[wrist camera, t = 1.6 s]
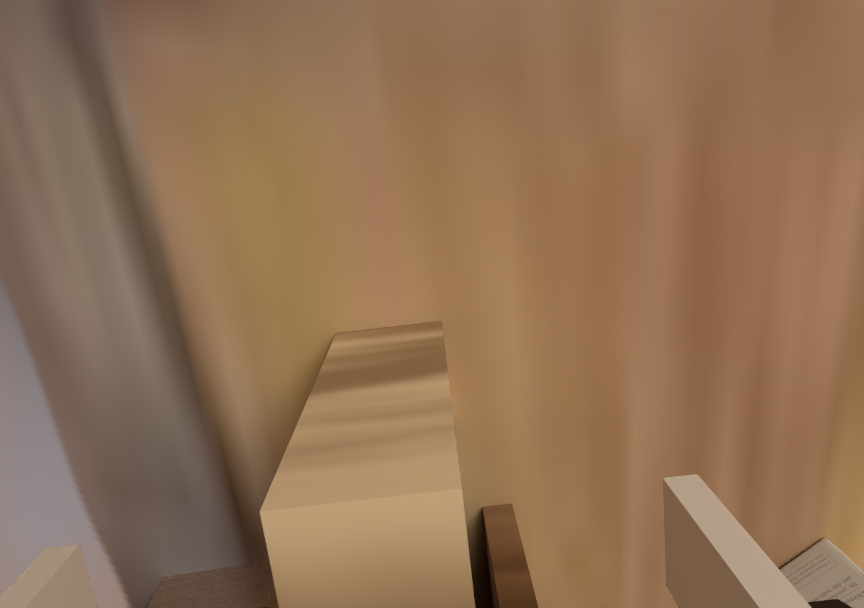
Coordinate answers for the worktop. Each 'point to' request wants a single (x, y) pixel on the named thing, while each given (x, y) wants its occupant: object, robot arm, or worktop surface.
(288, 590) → the tan wood-grain block
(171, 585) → the brown square block
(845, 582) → the grey canister
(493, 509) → the brown wooden stand
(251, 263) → the worktop surface
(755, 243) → the worktop surface
